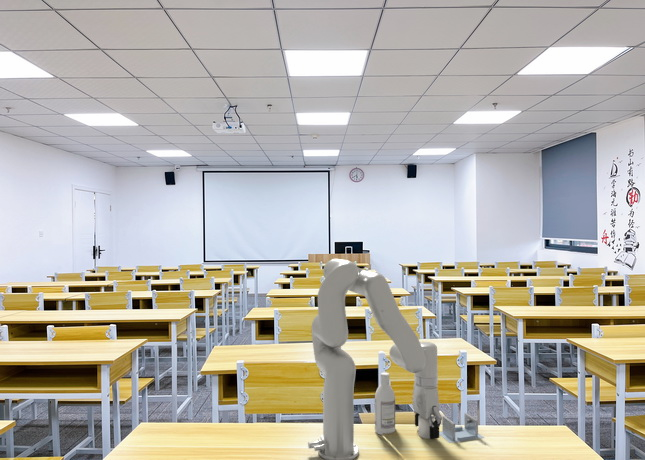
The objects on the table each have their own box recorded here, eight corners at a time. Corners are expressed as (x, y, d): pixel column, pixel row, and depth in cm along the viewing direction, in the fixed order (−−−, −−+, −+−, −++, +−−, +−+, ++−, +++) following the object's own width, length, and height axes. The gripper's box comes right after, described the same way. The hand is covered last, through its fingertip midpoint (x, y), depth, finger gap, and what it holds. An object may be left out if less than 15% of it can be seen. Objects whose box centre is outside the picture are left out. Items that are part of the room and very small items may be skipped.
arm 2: (473, 437, 145) (473, 420, 145) (462, 429, 151) (462, 413, 151) (478, 436, 146) (477, 420, 146) (467, 429, 152) (467, 413, 152)
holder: (449, 446, 142) (449, 439, 142) (436, 435, 149) (436, 429, 149) (484, 440, 145) (484, 434, 145) (469, 430, 153) (469, 424, 153)
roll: (423, 442, 144) (423, 420, 144) (415, 436, 149) (415, 414, 149) (436, 440, 145) (436, 419, 145) (428, 434, 150) (428, 413, 150)
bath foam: (399, 432, 152) (399, 373, 152) (385, 438, 147) (385, 378, 147) (384, 425, 157) (384, 369, 157) (370, 431, 153) (370, 373, 153)
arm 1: (452, 440, 143) (452, 423, 143) (442, 432, 149) (442, 416, 149) (457, 440, 144) (457, 423, 144) (447, 432, 149) (447, 415, 149)
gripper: (403, 373, 155) (404, 422, 154) (429, 390, 138) (430, 445, 138) (423, 371, 157) (423, 419, 157) (450, 387, 140) (451, 441, 140)
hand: (426, 431), depth 147 cm, fingers open, 9 cm apart
